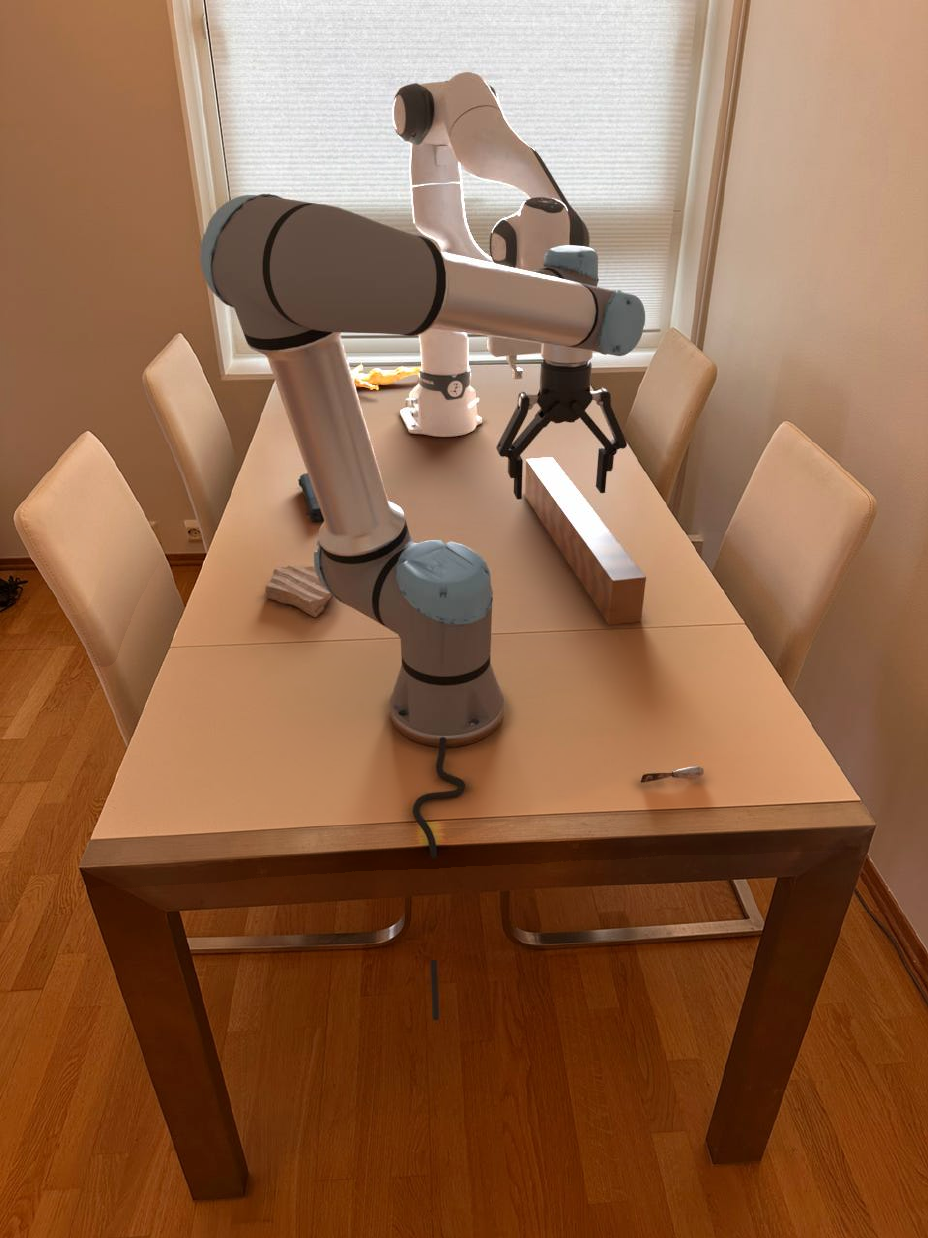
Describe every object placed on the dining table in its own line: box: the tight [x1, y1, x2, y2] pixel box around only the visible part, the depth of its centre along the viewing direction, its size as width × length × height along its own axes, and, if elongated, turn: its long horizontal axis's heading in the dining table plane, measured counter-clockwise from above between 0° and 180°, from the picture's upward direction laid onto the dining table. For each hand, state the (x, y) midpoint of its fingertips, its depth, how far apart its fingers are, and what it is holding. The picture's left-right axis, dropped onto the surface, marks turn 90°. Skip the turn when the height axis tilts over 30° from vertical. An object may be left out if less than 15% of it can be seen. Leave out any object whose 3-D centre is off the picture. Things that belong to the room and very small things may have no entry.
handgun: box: [298, 472, 324, 522], centre depth 178 cm, size 3×18×12 cm
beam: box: [524, 457, 647, 626], centre depth 159 cm, size 50×5×8 cm, turn 12°
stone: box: [264, 565, 333, 618], centre depth 147 cm, size 13×12×3 cm
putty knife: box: [640, 765, 705, 784], centre depth 109 cm, size 1×8×2 cm, turn 103°
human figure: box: [350, 362, 421, 391], centre depth 243 cm, size 20×20×4 cm
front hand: (559, 492), depth 143 cm, fingers open, 13 cm apart
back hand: (541, 376), depth 166 cm, fingers open, 8 cm apart
